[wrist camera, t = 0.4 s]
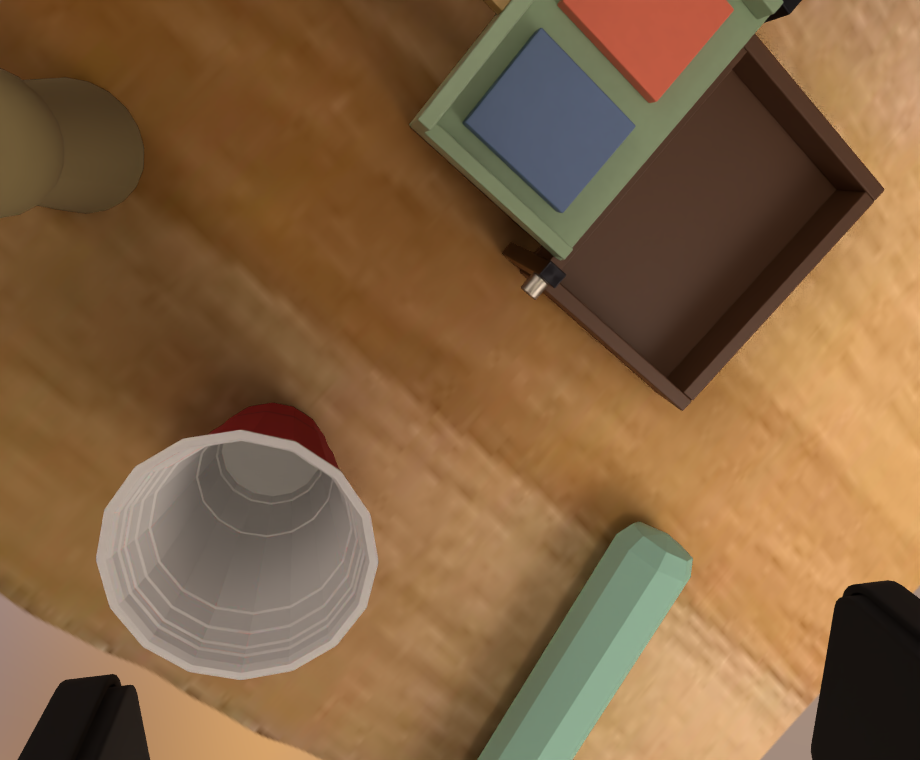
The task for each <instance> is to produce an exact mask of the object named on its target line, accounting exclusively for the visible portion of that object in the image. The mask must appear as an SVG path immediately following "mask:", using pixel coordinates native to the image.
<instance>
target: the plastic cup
mask: <svg viewBox="0 0 920 760" xmlns="http://www.w3.org/2000/svg"><path fill="white" fill-rule="evenodd" d="M96 561H97V565H98V568H99V572H100V575H101V579H102V582H103V586H104V589H105V592H106V596H107V599H108V603H109V606H110V608H111V609H112V611H113V612H114V613H115V614H116V615H117V617H118V618H119V619H120V620H121V621H122V623H123V624H124V625H125V626H126V627H127V628H128V630H129V631H130V632H131V633H132V634H133V636H134V637H135V638H136V639H137V640H138V642H139V643H140V644H141V645H142V646H143V647H144V648H146V649H148V650H150V651H152V652H153V653H155V654H157V655H159V656H161V657H163V658H165V659H166V660H168V661H170V662H172V663H174V664H176V665H177V666H179V667H181V668H183V669H185V670H187V671H188V672H193V673H200V674H206V675H213V676H219V677H225V678H232V679H238V680H244V679H250V678H255V677H261V676H267V675H272V674H278V673H283V672H289V671H293V670H295V669H297V668H298V667H300V666H302V665H304V664H305V663H307V662H309V661H311V660H312V659H314V658H316V657H318V656H319V655H321V654H323V653H324V652H326V651H328V650H330V649H331V648H333V647H335V646H336V645H337V644H338V643H339V642H340V640H341V639H342V638H343V637H344V635H345V634H346V633H347V632H348V630H349V629H350V628H351V627H352V625H353V624H354V623H355V622H356V620H357V619H358V618H359V616H360V615H361V614H362V613H363V611H364V610H365V609H366V607H367V604H368V600H369V596H370V592H371V589H372V585H373V581H374V577H375V573H376V570H377V566H378V556H377V550H376V545H375V539H374V533H373V527H372V522H371V516H370V513H369V512H368V510H367V509H366V507H365V506H364V504H363V503H362V502H361V500H360V499H359V497H358V496H357V494H356V493H355V491H354V490H353V488H352V487H351V485H350V484H349V482H348V481H347V479H346V478H345V476H344V475H343V473H342V472H341V471H340V470H339V468H338V465H337V463H336V460H335V457H334V455H333V452H332V451H331V449H330V448H329V447H328V444H327V442H326V439H325V436H324V435H323V433H322V432H321V431H320V429H319V428H318V426H317V425H316V423H315V422H314V421H313V419H311V418H310V417H309V416H307V415H306V414H304V413H302V412H301V411H299V410H298V409H296V408H295V407H292V406H287V405H282V404H277V403H267V404H261V405H255V406H250V407H247V408H246V409H244V410H242V411H241V412H239V413H237V414H236V415H234V416H232V417H231V418H229V419H228V420H227V421H226V422H225V423H224V424H223V425H221V426H219V427H218V428H216V429H214V430H213V431H212V432H210V433H209V434H208V435H204V436H197V437H191V438H184V439H181V440H180V441H178V442H176V443H175V444H173V445H171V446H170V447H168V448H166V449H165V450H163V451H161V452H159V453H158V454H156V455H154V456H153V457H151V458H149V459H148V460H146V461H144V462H143V463H141V464H139V465H137V466H136V467H135V468H134V469H133V470H132V472H131V473H130V475H129V476H128V477H127V479H126V480H125V482H124V483H123V484H122V486H121V487H120V489H119V490H118V491H117V493H116V494H115V496H114V497H113V498H112V500H111V501H110V503H109V504H108V506H107V507H106V508H105V510H104V515H103V521H102V527H101V533H100V539H99V544H98V550H97V556H96Z"/></svg>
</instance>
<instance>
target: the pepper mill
mask: <svg viewBox="0 0 920 760" xmlns="http://www.w3.org/2000/svg"><path fill="white" fill-rule="evenodd" d="M143 166H144V146H143V142H142V139H141V135H140V132H139V128H138V126H137V124H136V123H135V121H134V120H133V118H132V116H131V115H130V113H129V112H128V110H127V108H126V107H125V106H124V105H122V104H121V103H120V102H119V101H118V100H117V99H116V98H115V97H114V96H113V95H111V94H110V93H109V92H108V91H106V90H104V89H102V88H100V87H98V86H96V85H94V84H92V83H90V82H88V81H82V80H77V79H71V78H49V79H33V80H22V79H20V78H19V77H18V76H15V75H13V74H11V73H9V72H7V71H5V70H3V69H1V68H0V218H2V217H9V216H15V215H20V214H22V213H24V212H26V211H28V210H29V209H31V208H33V207H35V206H42V207H47V208H53V209H59V210H64V211H71V212H78V213H85V214H87V213H93V212H99V211H105V210H108V209H110V208H112V207H113V206H115V205H117V204H119V203H121V202H123V201H124V200H125V199H126V198H127V197H128V196H129V194H130V193H131V192H132V191H133V190H134V189H135V188H136V186H137V184H138V181H139V179H140V176H141V173H142V171H143Z"/></svg>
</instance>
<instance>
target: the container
mask: <svg viewBox="0 0 920 760" xmlns="http://www.w3.org/2000/svg"><path fill="white" fill-rule="evenodd" d="M692 560H693V558H692V557H691V556H690V555H689V553H688V552H687V551H686V550H685V549H684V548H683V547H682V546H681V545H680V544H679V543H678V542H677V541H675V540H674V539H673V538H672V537H671V536H670V535H668V534H667V533H665V532H663V531H660V530H658V529H656V528H654V527H651V526H649V525H647V524H644V523H642V522H640V521H639V522H636V523H633V524H631V525H630V526H628V527H627V528H625V529H623V530H622V531H620V532H619V533H617V534H616V536H615V537H614V539H613V540H612V542H611V544H610V545H609V547H608V549H607V550H606V552H605V553H604V555H603V557H602V558H601V560H600V562H599V563H598V565H597V566H596V568H595V570H594V571H593V573H592V574H591V576H590V578H589V579H588V581H587V583H586V584H585V586H584V587H583V589H582V591H581V592H580V594H579V596H578V597H577V599H576V600H575V602H574V604H573V605H572V607H571V609H570V610H569V612H568V613H567V615H566V617H565V618H564V620H563V621H562V623H561V625H560V626H559V628H558V630H557V631H556V633H555V634H554V636H553V638H552V639H551V641H550V643H549V644H548V646H547V647H546V649H545V651H544V652H543V654H542V656H541V657H540V659H539V660H538V662H537V664H536V665H535V667H534V668H533V670H532V672H531V673H530V675H529V677H528V678H527V680H526V681H525V683H524V685H523V686H522V688H521V690H520V691H519V693H518V694H517V696H516V698H515V699H514V701H513V703H512V704H511V706H510V707H509V709H508V711H507V712H506V714H505V715H504V717H503V719H502V720H501V722H500V724H499V725H498V727H497V728H496V730H495V732H494V733H493V735H492V737H491V738H490V740H489V741H488V743H487V745H486V746H485V748H484V750H483V751H482V753H481V754H480V756H479V758H478V759H477V760H572V759H573V758H574V756H575V755H576V753H577V752H578V750H579V749H580V747H581V745H582V744H583V742H584V741H585V739H586V738H587V736H588V735H589V733H590V732H591V730H592V728H593V727H594V725H595V724H596V722H597V721H598V719H599V718H600V716H601V715H602V713H603V712H604V710H605V708H606V707H607V705H608V704H609V702H610V701H611V699H612V698H613V696H614V695H615V693H616V691H617V690H618V688H619V687H620V685H621V684H622V682H623V681H624V679H625V678H626V676H627V674H628V673H629V671H630V670H631V668H632V667H633V665H634V664H635V662H636V661H637V659H638V657H639V656H640V654H641V653H642V651H643V650H644V648H645V647H646V645H647V644H648V642H649V640H650V639H651V637H652V636H653V634H654V633H655V631H656V630H657V628H658V627H659V625H660V624H661V622H662V620H663V619H664V617H665V616H666V614H667V613H668V611H669V610H670V608H671V607H672V605H673V603H674V602H675V600H676V599H677V597H678V596H679V594H680V593H681V591H682V590H683V588H684V586H685V585H686V583H687V582H688V580H689V579H690V577H691V569H692Z"/></svg>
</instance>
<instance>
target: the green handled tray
mask: <svg viewBox="0 0 920 760" xmlns="http://www.w3.org/2000/svg"><path fill="white" fill-rule="evenodd" d="M483 1H484V2H485V3H486V4H487V5H488V6H489V7H490V8H491V9H492V10H493V11H494V12H495V13H496V15H495V16H494V18H493V19H492V20H491V21H490V23H489V24H488V25H487V26H486V28H485V29H484V30H483V31H482V33H481V34H480V35H479V37H478V38H477V39H476V40H475V42H474V43H473V44H472V45H471V47H470V48H469V49H468V50H467V52H466V53H465V54H464V56H463V57H462V58H461V59H460V61H459V62H458V63H457V64H456V66H455V67H454V68H453V69H452V71H451V72H450V73H449V75H448V76H447V77H446V78H445V80H444V81H443V82H442V83H441V85H440V86H439V87H438V88H437V90H436V91H435V92H434V94H433V95H432V96H431V97H430V99H429V100H428V101H427V102H426V104H425V105H424V106H423V107H422V109H421V110H420V111H419V113H418V114H417V115H416V116H415V118H414V119H413V120H412V121H411V123H410V124H409V125H410V126H411V127H412V128H413V129H414V130H415V131H416V132H417V133H418V134H419V135H421V136H422V137H423V138H424V139H425V140H426V141H427V142H428V143H429V144H430V145H432V146H433V147H434V148H435V149H436V150H437V151H438V152H439V153H440V154H442V155H443V156H444V157H445V158H446V159H447V160H448V161H449V162H450V163H451V164H453V165H454V166H455V167H456V168H457V169H458V170H459V171H460V172H461V173H462V174H464V175H465V176H466V177H467V178H468V179H469V180H470V181H471V182H472V183H474V184H475V185H476V186H477V187H478V188H479V189H480V190H481V191H482V192H483V193H485V194H486V195H487V196H488V197H489V198H490V199H491V200H492V201H493V202H494V203H496V204H497V205H498V206H499V207H500V208H501V209H502V210H503V211H504V212H506V213H507V214H508V215H509V216H510V217H511V218H512V219H513V220H514V221H515V222H517V223H518V224H519V225H520V226H521V227H522V228H523V229H524V230H525V231H526V232H528V233H529V234H530V235H531V236H532V237H533V238H534V239H535V240H536V241H538V242H539V243H540V244H541V245H542V246H543V247H544V248H545V249H546V250H547V251H549V252H550V253H551V254H552V255H553V256H554V257H555V258H556V259H558V260H560V261H561V260H562V259H566V257H567V256H568V255H569V254H570V253H571V252H572V250H573V248H572V247H573V246H574V245H575V244H576V243H577V241H578V240H579V239H580V238H581V237H582V236H583V234H584V233H585V232H586V231H587V230H588V229H589V227H590V226H591V225H592V224H593V223H594V221H595V220H596V219H597V218H598V217H599V216H600V214H601V213H602V212H603V211H604V210H605V209H606V207H607V206H608V205H609V204H610V203H611V202H612V200H613V199H614V198H615V197H616V196H617V194H618V193H619V192H620V191H621V190H622V189H623V187H624V186H625V185H626V184H627V183H628V182H629V180H630V179H631V178H632V177H633V176H634V175H635V173H636V172H637V171H638V170H639V169H640V167H641V166H642V165H643V164H644V163H645V162H646V160H647V159H648V158H649V157H650V156H651V155H652V153H653V152H654V151H655V150H656V149H657V147H658V146H659V145H660V144H661V143H662V142H663V140H664V139H665V138H666V137H667V136H668V135H669V133H670V132H671V131H672V130H673V129H674V128H675V126H676V125H677V124H678V123H679V122H680V120H681V119H682V118H683V117H684V116H685V115H686V113H687V112H688V111H689V110H690V109H691V108H692V106H693V105H694V104H695V103H696V102H697V101H698V99H699V98H700V97H701V96H702V95H703V93H704V92H705V91H706V90H707V89H708V88H709V86H710V85H711V84H712V83H713V82H714V81H715V79H716V78H717V77H718V76H719V75H720V74H721V72H722V71H723V70H724V69H725V68H726V66H727V65H728V64H729V63H730V62H731V61H732V59H733V58H734V57H735V56H736V55H737V54H738V52H739V51H740V50H741V49H742V48H743V47H744V45H745V44H746V43H747V42H748V41H749V39H750V38H751V37H752V36H753V35H754V34H755V32H756V31H757V30H758V29H759V28H760V27H761V25H762V24H763V23H764V22H765V21H766V20H767V18H768V17H769V16H770V15H772V14H774V13H775V12H776V11H777V10H778V9H779V7H780V6H781V5H782V4H783V0H727V2H728V3H729V4H730V5H731V6H732V8H733V9H734V11H733V12H732V13H731V14H730V16H729V17H728V18H727V19H726V20H725V22H724V23H723V24H722V25H721V26H720V28H719V29H718V30H717V31H716V32H715V33H714V35H713V36H712V37H711V38H710V39H709V41H708V42H707V43H706V44H705V45H704V47H703V48H702V49H701V50H700V51H699V52H698V54H697V55H696V56H695V57H694V58H693V60H692V61H691V62H690V63H689V64H688V65H687V67H686V68H685V69H684V70H683V71H682V73H681V74H680V75H679V76H678V77H677V79H676V80H675V81H674V82H673V83H672V84H671V86H670V87H669V88H668V89H667V90H666V92H665V93H664V94H663V95H662V96H661V98H660V99H659V100H658V101H657V102H653V103H648V102H647V101H646V100H645V99H644V97H643V96H642V95H641V94H640V93H639V92H638V91H637V90H636V89H635V88H634V87H633V86H632V85H631V84H630V83H629V81H628V80H627V79H626V78H625V77H624V76H623V75H622V74H621V73H620V72H619V71H618V70H617V69H616V68H615V67H614V65H613V64H612V63H611V62H610V61H609V60H608V59H607V58H606V57H605V56H604V55H603V54H602V53H601V52H600V51H599V49H598V48H597V47H596V46H595V45H594V44H593V43H592V42H591V41H590V40H589V39H588V38H587V37H586V36H585V35H584V33H583V32H582V31H581V30H580V29H579V28H578V27H577V26H576V25H575V24H574V23H573V22H572V21H571V20H570V19H569V17H568V16H567V15H566V14H565V13H564V12H563V11H562V10H561V9H560V8H559V7H558V5H557V4H558V2H559V1H560V0H483ZM539 28H543V29H544V30H545V31H546V32H547V33H548V35H549V36H550V37H551V38H552V39H553V40H554V41H555V42H556V43H557V44H558V45H559V46H560V47H561V48H562V49H563V50H564V51H565V52H566V53H567V54H568V55H569V56H570V57H571V59H572V60H573V61H574V62H575V63H576V64H577V65H578V66H579V67H580V68H581V69H582V70H583V71H584V72H585V73H586V74H587V75H588V76H589V77H590V78H591V79H592V80H593V81H594V82H595V84H596V85H597V86H598V87H599V88H600V89H601V90H602V91H603V92H604V93H605V94H606V95H607V96H608V97H609V98H610V99H611V100H612V101H613V102H614V103H615V104H616V105H617V106H618V108H619V109H620V110H621V111H622V112H623V113H624V114H625V115H626V116H627V117H628V118H629V119H630V120H631V121H632V122H633V123H634V124H635V126H636V127H635V128H634V129H633V131H632V132H631V133H630V134H629V135H628V137H627V138H626V139H625V140H624V141H623V143H622V144H621V145H620V146H619V147H618V148H617V150H616V151H615V152H614V153H613V154H612V156H611V157H610V158H609V159H608V160H607V162H606V163H605V164H604V165H603V166H602V167H601V169H600V170H599V171H598V172H597V173H596V175H595V176H594V177H593V178H592V179H591V181H590V182H589V183H588V184H587V185H586V186H585V188H584V189H583V190H582V191H581V192H580V194H579V195H578V196H577V197H576V198H575V200H574V201H573V202H572V203H571V204H570V205H569V207H568V208H567V209H566V210H565V211H564V213H559V212H556V211H555V210H554V209H553V208H552V207H551V206H550V205H549V204H548V203H547V202H546V201H544V200H543V199H542V198H541V197H540V196H539V195H538V194H537V193H536V192H535V191H534V190H533V189H532V188H531V187H530V186H528V185H527V184H526V183H525V182H524V181H523V180H522V179H521V178H520V177H519V176H518V175H517V174H516V173H515V172H514V171H512V170H511V169H510V168H509V167H508V166H507V165H506V164H505V163H504V162H503V161H502V160H501V159H500V158H499V157H497V156H496V155H495V154H494V153H493V152H492V151H491V150H490V149H489V148H488V147H487V146H486V145H485V144H484V143H483V142H481V141H480V140H479V139H478V138H477V137H476V136H475V135H474V134H473V133H472V132H471V131H470V130H469V129H468V128H467V127H465V126H464V125H463V121H464V120H465V118H466V117H467V116H468V115H469V113H470V112H471V111H472V110H473V108H474V107H475V106H476V105H477V103H478V102H479V101H480V100H481V98H482V97H483V96H484V95H485V93H486V92H487V91H488V90H489V88H490V87H491V86H492V85H493V83H494V82H495V81H496V80H497V78H498V77H499V76H500V75H501V73H502V72H503V71H504V70H505V68H506V67H507V66H508V65H509V63H510V62H511V61H512V60H513V58H514V57H515V56H516V55H517V54H518V52H519V51H520V50H521V49H522V47H523V46H524V45H525V44H526V42H527V41H528V40H529V39H530V37H531V36H532V35H533V34H534V32H535V31H536V30H538V29H539Z"/></svg>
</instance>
